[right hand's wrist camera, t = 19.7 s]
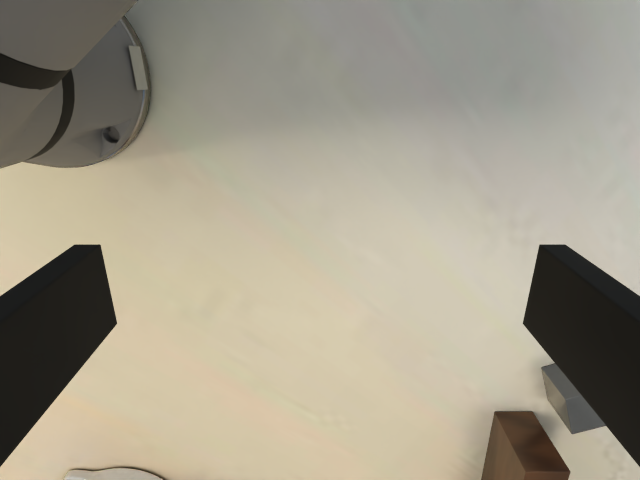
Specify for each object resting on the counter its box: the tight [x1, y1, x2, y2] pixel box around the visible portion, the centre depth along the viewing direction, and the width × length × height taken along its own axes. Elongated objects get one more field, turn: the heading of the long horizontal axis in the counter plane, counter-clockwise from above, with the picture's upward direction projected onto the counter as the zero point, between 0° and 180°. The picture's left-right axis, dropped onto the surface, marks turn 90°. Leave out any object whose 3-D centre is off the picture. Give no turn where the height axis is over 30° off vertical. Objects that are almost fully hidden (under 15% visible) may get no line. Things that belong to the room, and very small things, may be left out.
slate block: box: [542, 364, 606, 434], centre depth 45 cm, size 5×5×5 cm
